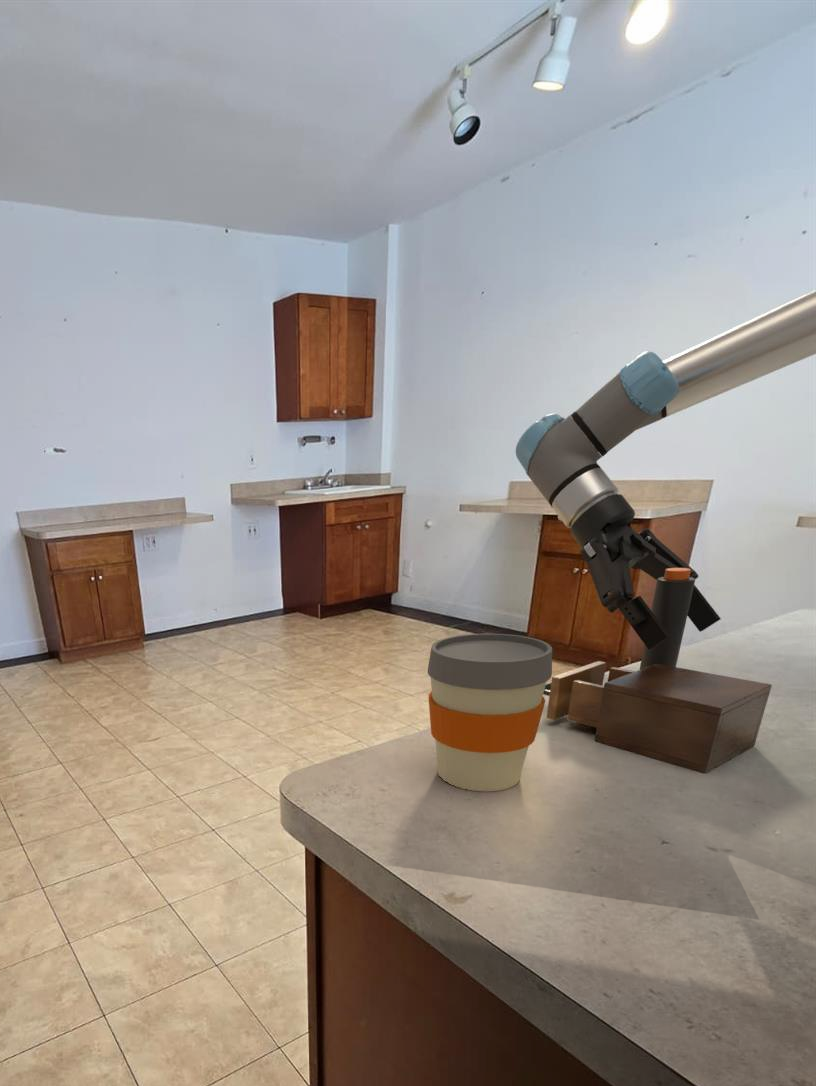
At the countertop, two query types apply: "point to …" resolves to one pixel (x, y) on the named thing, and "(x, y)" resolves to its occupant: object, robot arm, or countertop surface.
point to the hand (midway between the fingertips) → (685, 634)
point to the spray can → (670, 615)
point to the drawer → (579, 693)
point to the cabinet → (682, 715)
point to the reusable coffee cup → (486, 706)
